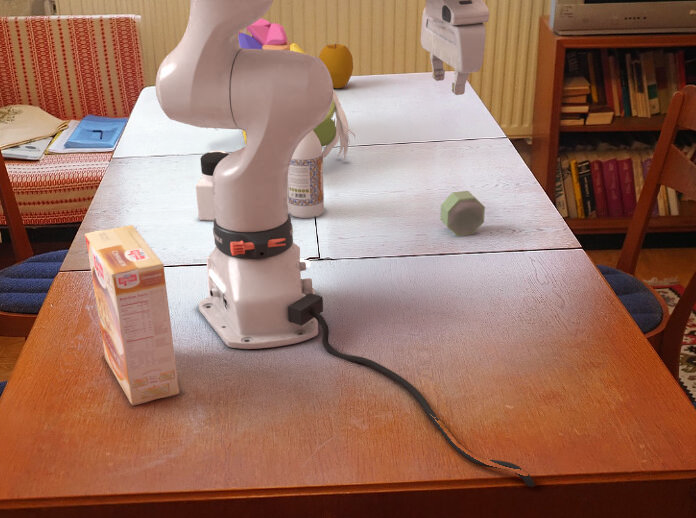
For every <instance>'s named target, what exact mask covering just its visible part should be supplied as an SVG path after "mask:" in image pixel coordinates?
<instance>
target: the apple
mask: <svg viewBox="0 0 696 518" xmlns="http://www.w3.org/2000/svg"><path fill="white" fill-rule="evenodd" d="M318 58H320V59H321V60H322V61H323V63H324V64H325V65H326V67H327V69H328V71H329V73H330V75H331V78H332V83H333V89H341V88H342V89H343V88H345V87H346V85H348V83H349V81H350V79H351V78H352V74H353V71H354V59H353V58H354V57H353V54H352V53H351V51H350V49H349V48H348V47H347V46H346V45H344V44H340V43H337V42H336V43H334V44H326V45H325V46H324V47H322V49H321V51H320V53H319V55H318Z"/></svg>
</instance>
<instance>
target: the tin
mask: <svg viewBox="0 0 696 518" xmlns="http://www.w3.org/2000/svg"><path fill="white" fill-rule="evenodd" d="M485 211H486V206H485V205H484V204H483V203H481V201H480V200H479V199H478V198H476V197H475V196H474V195H473V194H472V193H471V192H470V191H469V190H462V191H454V192H451V193H450V194H449V196H447V198H446V199H445V200H444V201H443V202H442V203H441V205H440V221H441V222H442V223H443V224H444V225H445V226H446V228H448V229H449V230H450V231H451V232H452V233H453V234H454V235H455V236H456V237H461V236H469V235H473V234H475V232H476V231H477V230H478V229H479V228H480V227H481V226H482V225H483V224H484V223H485V213H486V212H485Z"/></svg>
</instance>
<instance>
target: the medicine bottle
mask: <svg viewBox="0 0 696 518" xmlns="http://www.w3.org/2000/svg"><path fill="white" fill-rule="evenodd" d="M229 154H231V153H230V152H227V151H224V150H212V151H208V152H206V153H204V154H203V155H202V156H200V157H199V158H200V170H201V178H200V179H199V180H198V181H197V183H196V184H195V194H196V205H197V206H196V207H197V214H198V216H197V217H198V220H200V221H211V222H212V221H213V222H214V219H215V218H216V216H215V205H214V194H213V182H212V177H213V173H214V170H215V168H216V166H217V164H218V163H219V162H220V161H221V160H222V159H223V158H225V157H226V156H228V155H229Z"/></svg>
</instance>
